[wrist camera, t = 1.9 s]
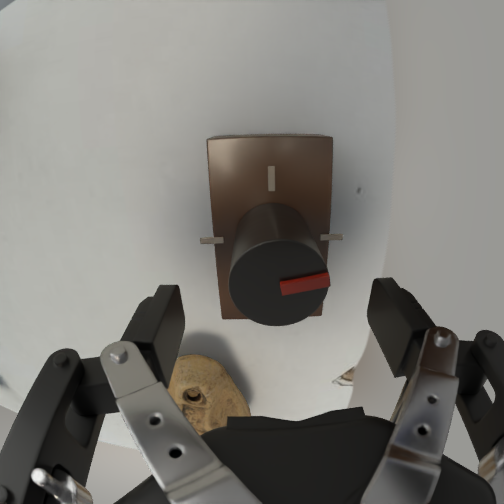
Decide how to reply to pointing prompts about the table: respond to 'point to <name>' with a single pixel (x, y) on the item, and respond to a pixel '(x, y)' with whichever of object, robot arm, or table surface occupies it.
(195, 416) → the oil lamp
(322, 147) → the panel
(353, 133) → the table surface
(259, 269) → the knob
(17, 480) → the robot arm
